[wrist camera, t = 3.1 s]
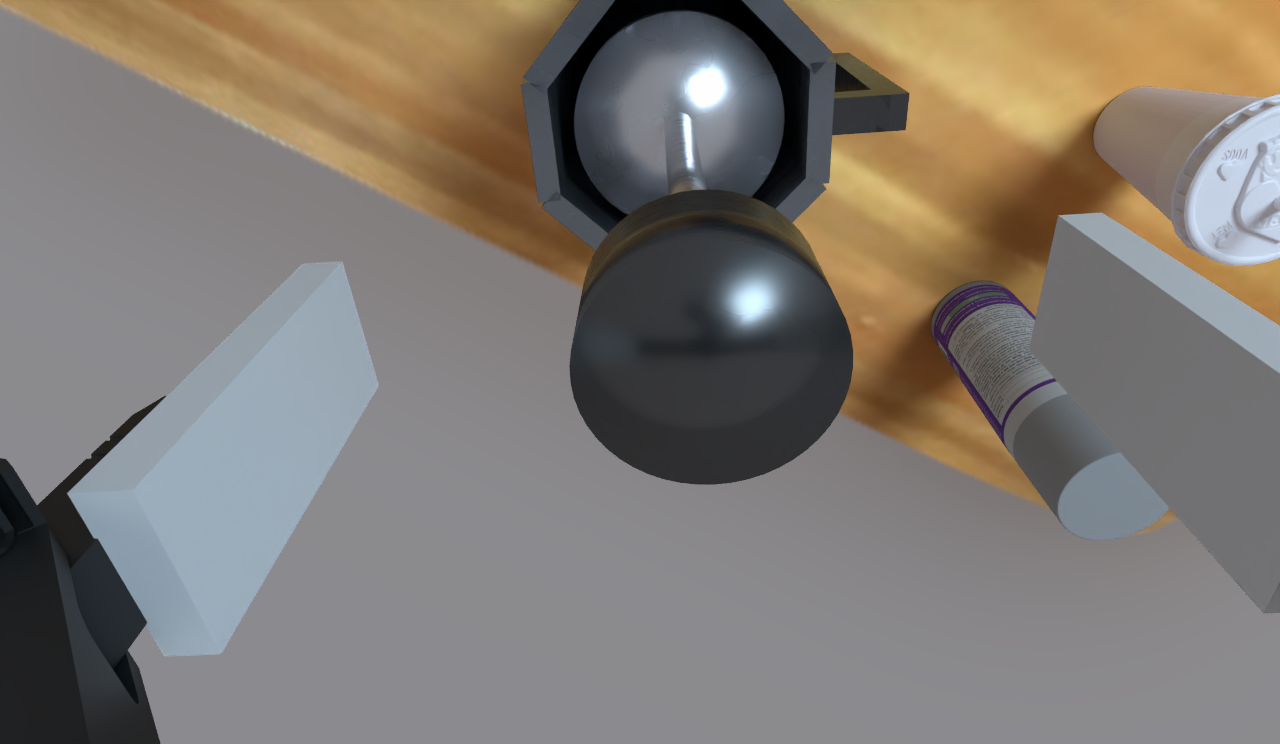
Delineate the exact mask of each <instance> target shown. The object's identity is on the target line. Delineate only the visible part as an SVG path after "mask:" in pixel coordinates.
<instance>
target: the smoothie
mask: <svg viewBox="0 0 1280 744" xmlns="http://www.w3.org/2000/svg"><path fill="white" fill-rule="evenodd" d="M1093 143H1094V147H1095V150H1096V152H1097V154H1098V155H1099V156H1100V157H1101V158H1102V159H1103V160H1104V161H1105V162H1106V163H1107V164H1109V165H1110V166H1111V167H1112V168H1113V169H1114V170H1115V171H1116V172H1117V173H1119V174H1120V175H1121V176H1122V177H1123V178H1124V179H1125V180H1126V181H1128V182H1129V183H1130V184H1131V185H1132V186H1133V187H1134V188H1135V189H1136V190H1138V191H1139V192H1140V193H1141V194H1142V195H1143V196H1144V197H1145V198H1147V199H1148V200H1149V201H1150V202H1151V203H1152V204H1153V205H1154V206H1155V207H1157V208H1158V209H1159V210H1160V211H1161V212H1162V213H1163V214H1164V215H1165V216H1166V217H1167V218H1168V219H1170V220H1171V221H1172V224H1173V226H1174V229H1175V232H1176V234H1177V235H1178V237H1179V238H1180V239H1181V240H1182V241H1183V243H1184V244H1185V245H1186V246H1187V247H1188V248H1190V249H1192V250H1194V251H1196V252H1197V253H1199V254H1201V255H1203V256H1206V257H1208V258H1210V259H1212V260H1214V261H1216V262H1219V263H1223V264H1228V265H1237V266H1244V265H1255V264H1261V263H1265V262H1269V261H1273V260H1276V259H1279V258H1280V94H1277V95H1273V96H1270V97H1267V98H1262V97H1249V96H1239V95H1229V94H1219V93H1209V92H1199V91H1189V90H1179V89H1169V88H1159V87H1149V86H1144V87H1137V88H1134V89H1131V90H1128V91H1126V92H1124V93H1122V94H1121V95H1119V96H1118V97H1116V98H1115V99H1114V100H1112V101H1111V102H1110V103H1109V104H1108V105H1107V106H1106V108H1105V109H1104V110H1103V111H1102V113H1101V114H1100V116H1099V118H1098V120H1097V122H1096V125H1095V128H1094V133H1093Z"/></svg>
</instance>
